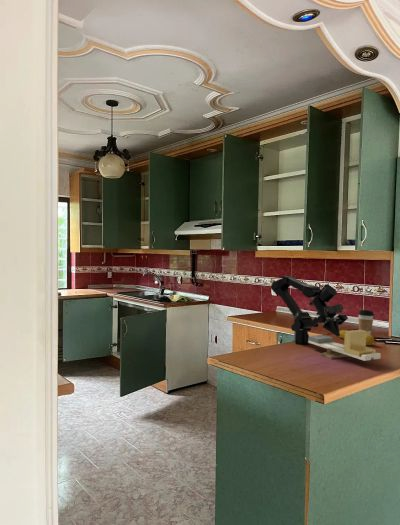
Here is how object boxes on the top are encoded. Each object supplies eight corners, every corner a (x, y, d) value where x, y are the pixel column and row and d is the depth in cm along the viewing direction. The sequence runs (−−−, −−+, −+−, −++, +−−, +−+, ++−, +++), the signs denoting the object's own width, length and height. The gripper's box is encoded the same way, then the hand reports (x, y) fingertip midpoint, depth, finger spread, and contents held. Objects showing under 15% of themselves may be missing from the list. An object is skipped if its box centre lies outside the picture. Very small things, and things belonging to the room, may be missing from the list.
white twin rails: (308, 342, 184) (308, 336, 184) (323, 340, 189) (323, 334, 189) (364, 360, 156) (364, 353, 156) (380, 358, 161) (380, 351, 161)
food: (375, 346, 197) (376, 334, 196) (368, 347, 194) (369, 335, 193) (340, 337, 214) (341, 326, 214) (334, 338, 211) (334, 327, 211)
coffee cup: (356, 336, 217) (357, 310, 217) (357, 333, 225) (358, 308, 224) (372, 338, 213) (373, 311, 213) (373, 335, 221) (374, 310, 220)
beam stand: (320, 355, 173) (320, 347, 173) (345, 352, 181) (345, 344, 181) (330, 358, 168) (331, 351, 168) (355, 355, 176) (356, 347, 176)
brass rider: (343, 353, 166) (344, 331, 165) (359, 351, 170) (360, 329, 170) (359, 358, 159) (360, 335, 158) (375, 356, 163) (376, 333, 163)
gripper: (317, 298, 174) (334, 327, 165) (346, 297, 183) (364, 325, 174) (303, 312, 181) (320, 341, 172) (332, 310, 190) (348, 338, 181)
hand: (338, 336), depth 174 cm, fingers closed
